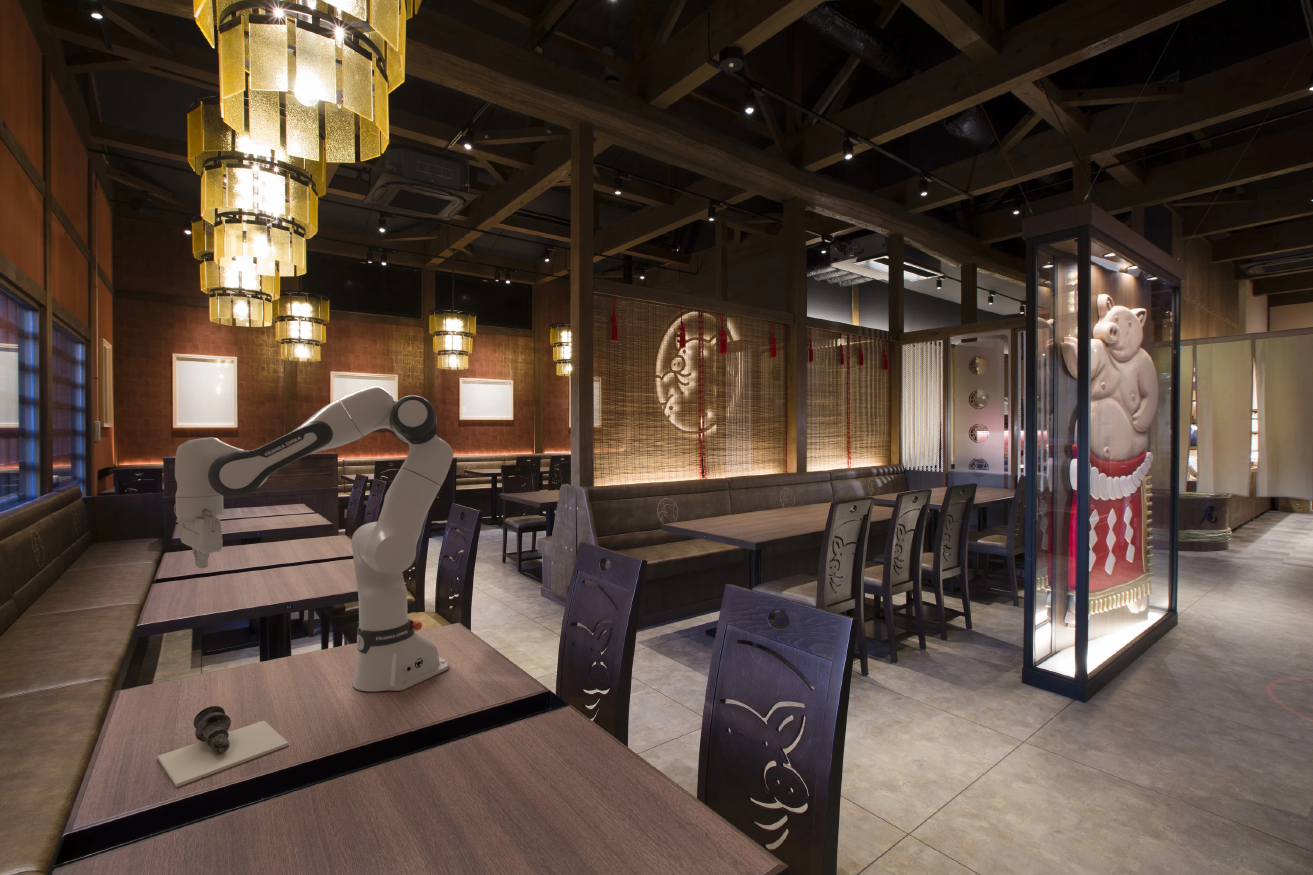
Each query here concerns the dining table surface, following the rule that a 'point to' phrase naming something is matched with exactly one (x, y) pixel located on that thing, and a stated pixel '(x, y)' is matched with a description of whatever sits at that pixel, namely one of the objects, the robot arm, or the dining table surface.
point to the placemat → (205, 762)
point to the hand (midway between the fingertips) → (201, 566)
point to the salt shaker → (213, 728)
